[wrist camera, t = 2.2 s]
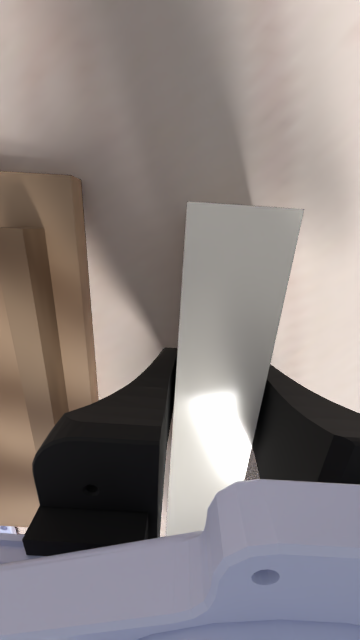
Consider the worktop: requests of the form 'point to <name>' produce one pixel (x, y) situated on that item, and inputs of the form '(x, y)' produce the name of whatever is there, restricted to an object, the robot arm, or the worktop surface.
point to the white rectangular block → (224, 346)
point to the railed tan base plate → (40, 326)
